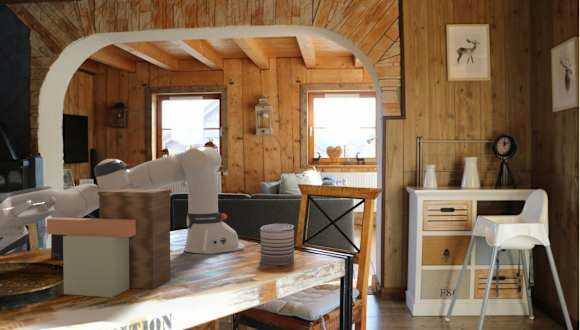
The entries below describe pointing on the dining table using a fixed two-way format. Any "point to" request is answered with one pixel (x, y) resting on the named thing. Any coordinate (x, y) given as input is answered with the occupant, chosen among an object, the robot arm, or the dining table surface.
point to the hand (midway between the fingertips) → (42, 201)
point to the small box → (57, 246)
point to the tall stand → (143, 231)
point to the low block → (95, 265)
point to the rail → (91, 227)
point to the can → (277, 244)
